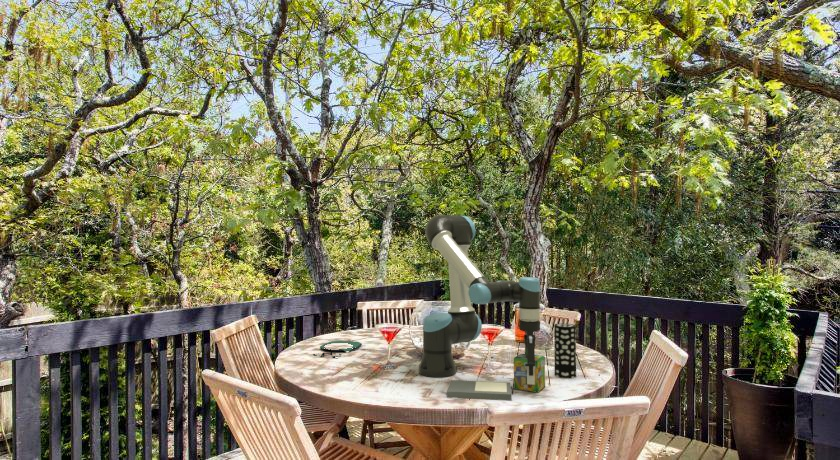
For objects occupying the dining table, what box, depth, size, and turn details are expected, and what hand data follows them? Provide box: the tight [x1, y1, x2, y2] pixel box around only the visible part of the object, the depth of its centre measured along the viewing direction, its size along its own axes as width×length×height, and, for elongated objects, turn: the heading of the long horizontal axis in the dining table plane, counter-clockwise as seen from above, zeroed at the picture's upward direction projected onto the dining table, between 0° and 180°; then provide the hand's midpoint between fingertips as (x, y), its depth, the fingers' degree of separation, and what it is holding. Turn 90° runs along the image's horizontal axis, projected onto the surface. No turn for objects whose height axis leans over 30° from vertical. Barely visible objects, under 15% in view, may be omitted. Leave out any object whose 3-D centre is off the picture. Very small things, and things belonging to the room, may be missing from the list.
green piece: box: [319, 340, 363, 358], centre depth 248 cm, size 20×30×2 cm, turn 162°
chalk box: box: [513, 347, 546, 393], centre depth 187 cm, size 9×9×15 cm
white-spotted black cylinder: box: [553, 322, 577, 379], centre depth 204 cm, size 8×8×20 cm
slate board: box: [446, 379, 513, 401], centre depth 182 cm, size 22×14×2 cm, turn 81°
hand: (529, 379), depth 187 cm, fingers closed on chalk box, 11 cm apart
